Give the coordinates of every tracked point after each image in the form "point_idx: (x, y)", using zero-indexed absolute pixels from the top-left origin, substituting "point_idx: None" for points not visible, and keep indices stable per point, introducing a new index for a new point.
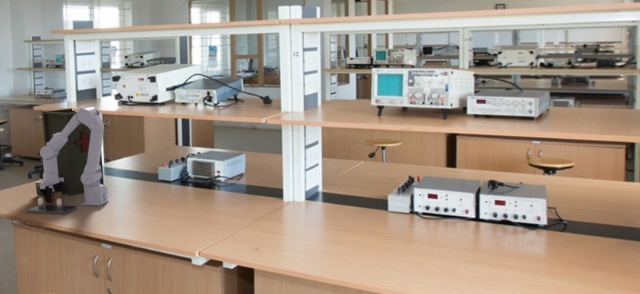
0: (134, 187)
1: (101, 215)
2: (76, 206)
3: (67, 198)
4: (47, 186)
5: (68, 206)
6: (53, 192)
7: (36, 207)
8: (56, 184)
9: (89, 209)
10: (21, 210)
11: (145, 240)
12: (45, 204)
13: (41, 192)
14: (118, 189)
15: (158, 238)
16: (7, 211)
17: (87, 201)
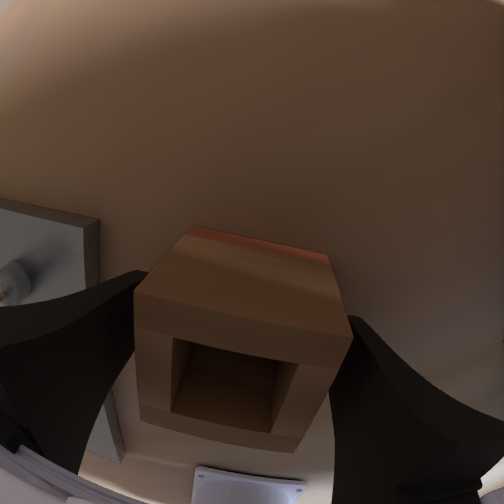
0: (487, 487)
1: None
2: (115, 461)
3: (433, 348)
4: (16, 466)
5: (100, 435)
6: (290, 379)
7: (10, 236)
8: (378, 501)
9: (133, 479)
10: (14, 96)
11: None
12: (191, 227)
13: (8, 312)
14: (494, 468)
15: None
16: (9, 11)
17: (195, 499)
